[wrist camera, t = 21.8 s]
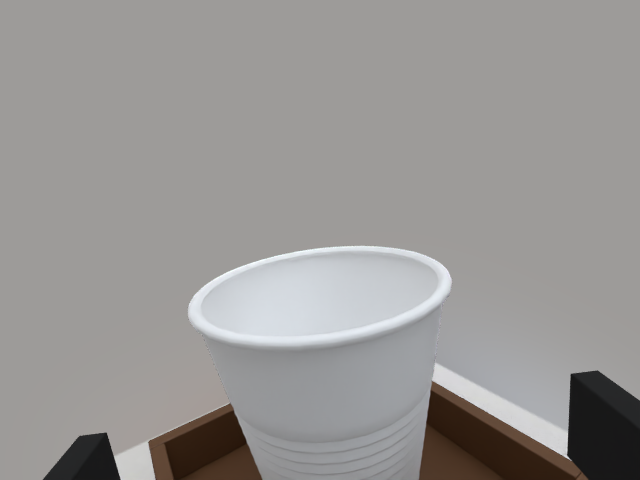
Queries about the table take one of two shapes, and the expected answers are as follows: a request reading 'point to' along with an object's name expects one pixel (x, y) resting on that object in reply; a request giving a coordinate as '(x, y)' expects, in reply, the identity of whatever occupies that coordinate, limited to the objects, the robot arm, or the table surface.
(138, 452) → the table surface
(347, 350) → the cup
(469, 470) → the tray
